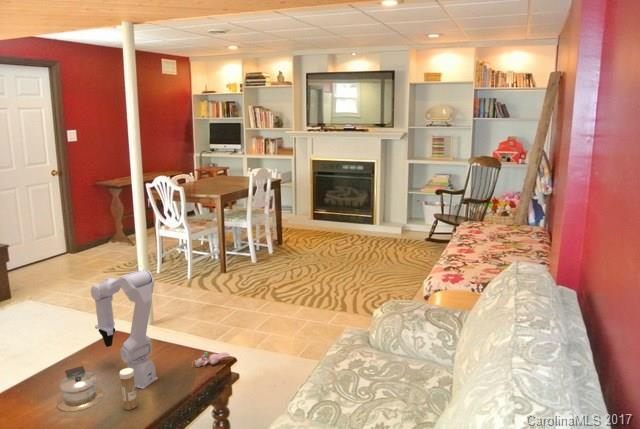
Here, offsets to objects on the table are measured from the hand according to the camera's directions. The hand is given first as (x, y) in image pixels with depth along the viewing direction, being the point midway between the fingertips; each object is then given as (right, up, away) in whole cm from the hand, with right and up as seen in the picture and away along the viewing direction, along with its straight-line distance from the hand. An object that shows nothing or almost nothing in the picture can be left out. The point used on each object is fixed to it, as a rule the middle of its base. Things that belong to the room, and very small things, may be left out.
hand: (108, 345), depth 198 cm
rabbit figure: (+40, -8, +3) cm, 41 cm away
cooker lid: (-3, -8, -19) cm, 21 cm away
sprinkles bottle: (+18, -15, -25) cm, 34 cm away
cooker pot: (-2, -14, -20) cm, 24 cm away
